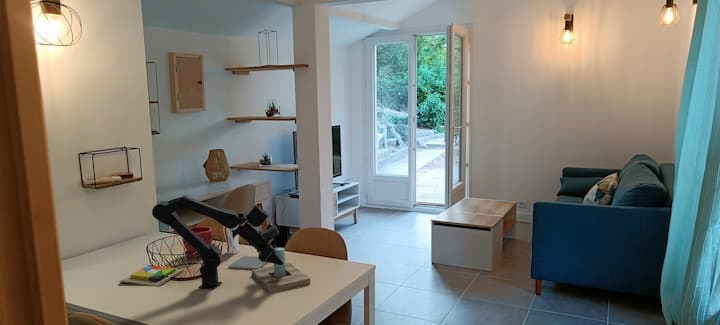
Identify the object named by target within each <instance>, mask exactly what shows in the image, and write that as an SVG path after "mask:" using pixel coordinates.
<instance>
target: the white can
mask: <svg viewBox="0 0 720 325" xmlns="http://www.w3.org/2000/svg"><path fill="white" fill-rule="evenodd" d="M238 226H239V225H238ZM238 226H237V227H238ZM237 227H236V228H237ZM236 228H233V229H236ZM223 235H224V239H225V243H226V252H225V253H226V254H228V255H234V254H235V255H236V254H238V253H240V251H241V250H240V246H239V240H240V236H239V235H238V234H237V235H236V236H235V237H234V238H233V237H232V229H228V228H226V227H225V226H223Z"/></svg>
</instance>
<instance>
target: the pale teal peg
mask: <svg viewBox="0 0 720 325" xmlns="http://www.w3.org/2000/svg"><path fill="white" fill-rule="evenodd" d="M285 252H286V251H285V248H284V247H277V248H275V254H276V255H277V256H278V257H279V258H280V259H281V261H282V262H283V263H284V264H283V265H278V264H273V266H274V276H275V277H274V279H276V278H281V277H286V276H287V275H286V269H285V263H286V255H285Z"/></svg>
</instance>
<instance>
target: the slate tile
mask: <svg viewBox="0 0 720 325" xmlns="http://www.w3.org/2000/svg"><path fill="white" fill-rule="evenodd" d="M268 263H269V262H262V261H260V260H259V256H252V255H250V256H249V255H242V257H239V259H236V261H233V262H232V263H231V264H230V265H228V266H227V268H228V269H231V270H232V269H233V270H249V271H250V270H251V271H252V270H255V269H259V268H264V267H265V266H266V265H267V264H268ZM269 264H270V263H269Z"/></svg>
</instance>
